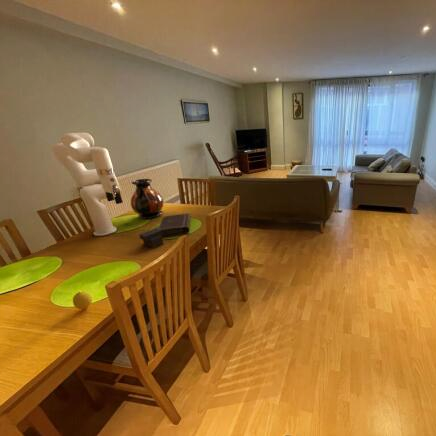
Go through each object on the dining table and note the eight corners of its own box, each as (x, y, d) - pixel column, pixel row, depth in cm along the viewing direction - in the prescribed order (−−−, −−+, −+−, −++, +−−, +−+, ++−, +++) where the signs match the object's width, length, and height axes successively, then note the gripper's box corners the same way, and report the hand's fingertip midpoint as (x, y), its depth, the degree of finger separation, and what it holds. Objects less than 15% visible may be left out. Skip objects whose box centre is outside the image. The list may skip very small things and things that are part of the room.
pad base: (144, 244, 144) (142, 240, 143) (153, 240, 148) (152, 236, 147) (153, 248, 139) (152, 244, 138) (163, 243, 143) (162, 240, 142)
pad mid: (143, 240, 143) (141, 236, 142) (152, 236, 147) (151, 232, 146) (152, 244, 138) (151, 240, 137) (162, 240, 142) (161, 236, 141)
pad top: (146, 240, 136) (144, 236, 135) (140, 238, 139) (139, 234, 138) (162, 234, 144) (161, 230, 143) (156, 231, 147) (155, 228, 146)
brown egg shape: (83, 303, 97) (76, 288, 94) (98, 302, 98) (91, 287, 95) (73, 314, 92) (65, 297, 89) (88, 313, 93) (81, 296, 89)
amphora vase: (142, 211, 195) (133, 177, 184) (170, 210, 197) (162, 176, 186) (129, 222, 175) (117, 185, 164) (160, 220, 177) (150, 183, 166)
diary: (190, 219, 178) (189, 212, 176) (189, 232, 157) (188, 226, 155) (163, 222, 173) (161, 216, 171) (158, 237, 151) (156, 230, 149)
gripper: (121, 172, 127) (130, 202, 134) (106, 169, 136) (115, 197, 142) (105, 174, 121) (115, 206, 128) (90, 171, 130) (100, 201, 137)
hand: (115, 201), depth 135 cm, fingers open, 9 cm apart
